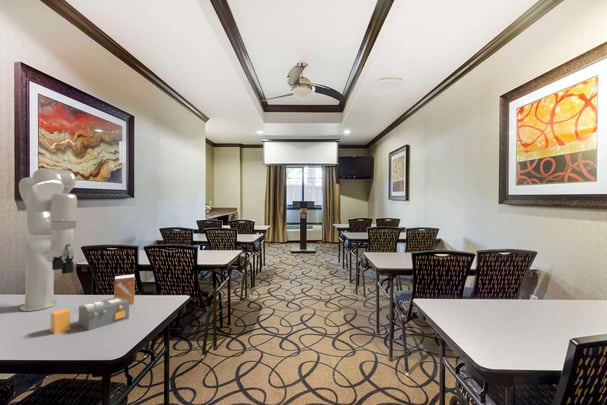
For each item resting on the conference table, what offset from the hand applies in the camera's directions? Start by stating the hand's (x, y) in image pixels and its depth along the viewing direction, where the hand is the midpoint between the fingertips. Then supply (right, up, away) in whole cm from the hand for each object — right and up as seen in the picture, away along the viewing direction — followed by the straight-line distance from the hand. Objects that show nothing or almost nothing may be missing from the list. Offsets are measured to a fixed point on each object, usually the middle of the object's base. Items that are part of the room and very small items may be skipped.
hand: (62, 271), depth 105 cm
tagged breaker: (+12, -21, +11) cm, 27 cm away
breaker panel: (+10, -22, +8) cm, 26 cm away
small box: (+5, -23, +28) cm, 37 cm away
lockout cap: (0, -22, 0) cm, 22 cm away
